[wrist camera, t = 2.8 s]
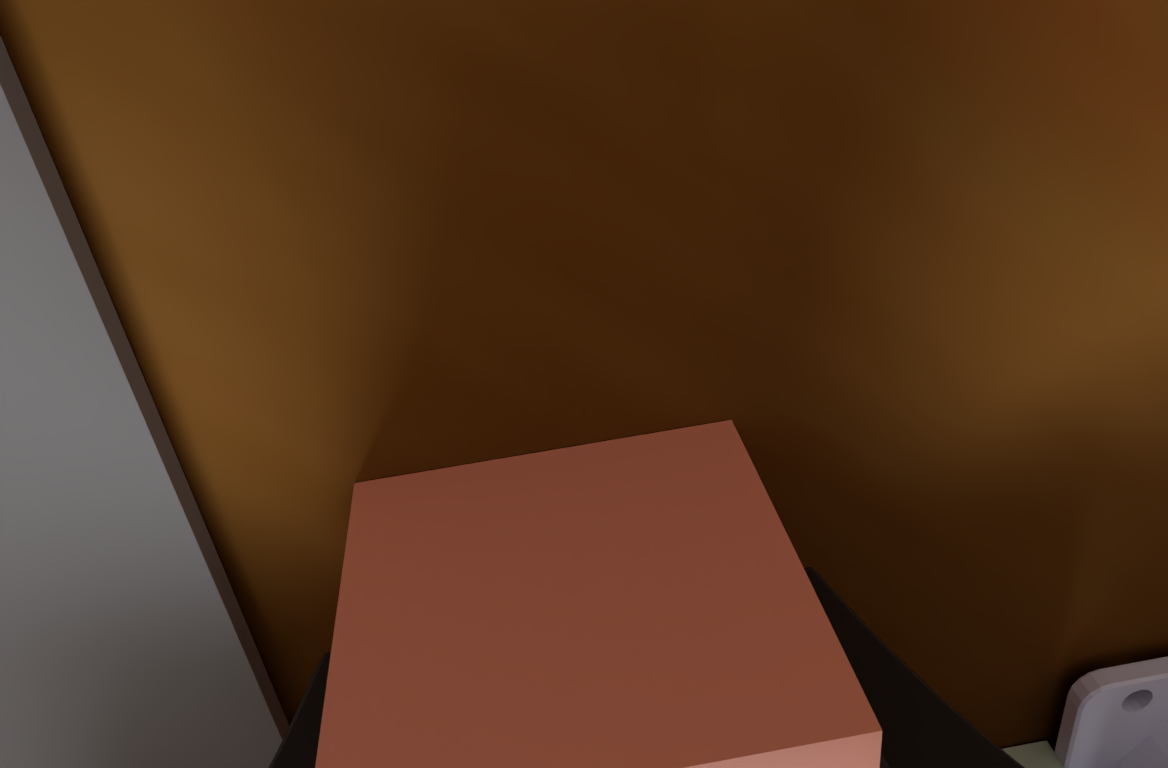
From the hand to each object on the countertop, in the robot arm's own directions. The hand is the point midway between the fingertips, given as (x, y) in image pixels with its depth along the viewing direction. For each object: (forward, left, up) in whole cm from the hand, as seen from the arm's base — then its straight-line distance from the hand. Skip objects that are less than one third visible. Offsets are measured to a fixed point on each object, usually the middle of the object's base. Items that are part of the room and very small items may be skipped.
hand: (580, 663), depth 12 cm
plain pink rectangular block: (0, +4, -1) cm, 4 cm away
